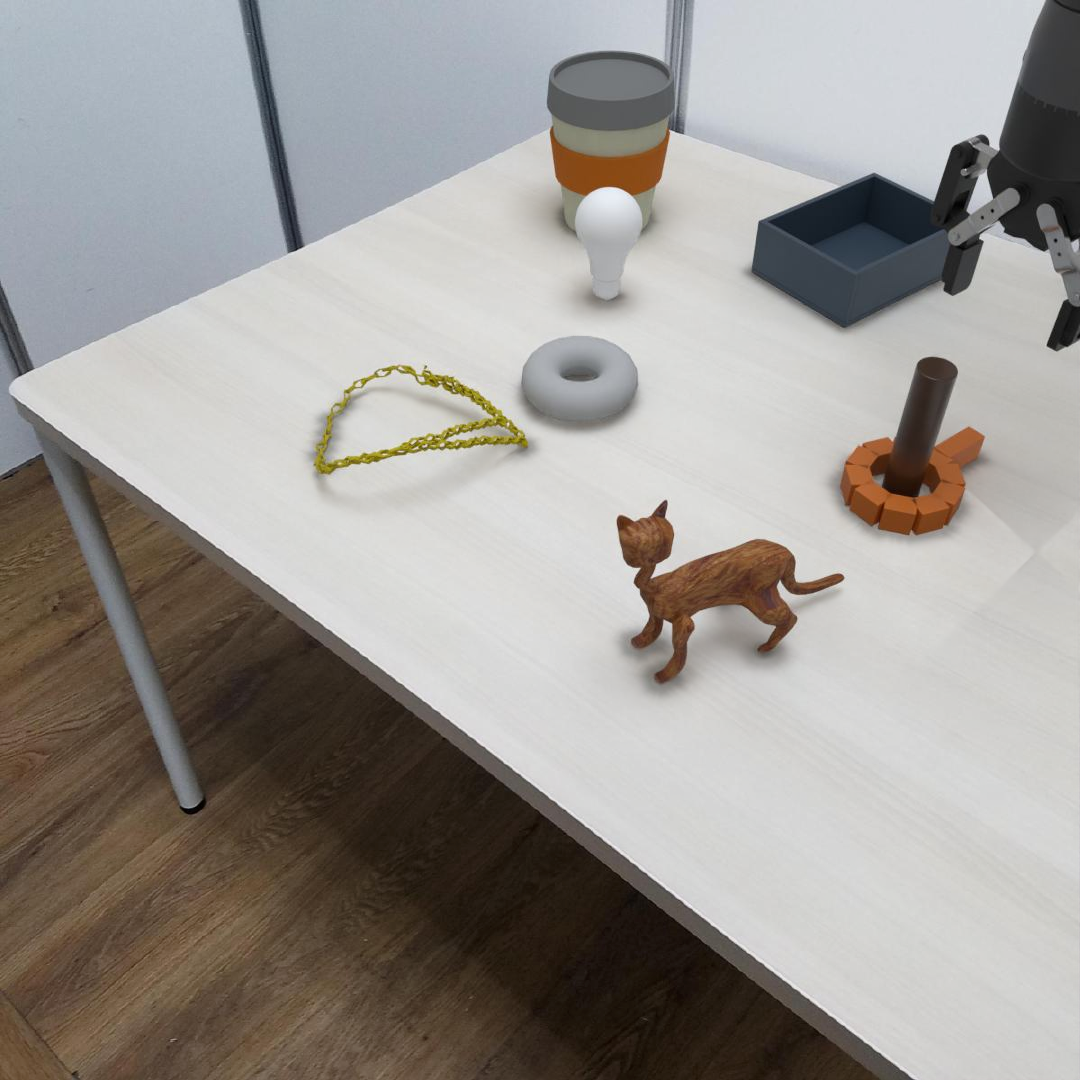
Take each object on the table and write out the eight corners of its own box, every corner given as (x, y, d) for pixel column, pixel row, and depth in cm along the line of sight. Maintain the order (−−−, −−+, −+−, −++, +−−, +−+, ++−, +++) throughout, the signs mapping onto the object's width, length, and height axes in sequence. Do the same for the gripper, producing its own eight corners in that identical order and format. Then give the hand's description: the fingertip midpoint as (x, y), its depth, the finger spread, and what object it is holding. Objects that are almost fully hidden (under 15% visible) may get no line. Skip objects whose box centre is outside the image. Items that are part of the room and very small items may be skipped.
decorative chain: (532, 445, 87) (531, 396, 84) (398, 530, 79) (392, 478, 76) (396, 381, 96) (391, 334, 93) (262, 451, 87) (252, 402, 84)
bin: (863, 221, 112) (874, 172, 108) (957, 271, 105) (973, 219, 101) (751, 271, 105) (758, 220, 102) (843, 327, 98) (855, 275, 95)
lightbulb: (561, 303, 102) (561, 195, 94) (596, 274, 105) (599, 168, 98) (616, 323, 99) (620, 214, 92) (649, 293, 103) (656, 186, 95)
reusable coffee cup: (523, 217, 114) (519, 74, 103) (606, 178, 120) (610, 39, 109) (607, 261, 107) (612, 114, 96) (690, 218, 113) (704, 74, 102)
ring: (906, 552, 78) (913, 530, 77) (817, 486, 83) (822, 465, 82) (1016, 481, 83) (1024, 460, 82) (926, 424, 88) (932, 403, 87)
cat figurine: (814, 557, 78) (850, 409, 68) (869, 620, 74) (916, 470, 64) (593, 639, 73) (597, 490, 63) (638, 710, 68) (651, 563, 59)
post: (907, 480, 84) (946, 353, 75) (923, 504, 82) (965, 377, 73) (873, 486, 83) (909, 359, 75) (889, 510, 81) (927, 382, 73)
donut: (644, 367, 95) (534, 353, 96) (647, 335, 92) (534, 321, 94) (628, 438, 88) (509, 422, 89) (630, 405, 85) (509, 389, 87)
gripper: (1239, 104, 60) (1130, 345, 71) (1023, 30, 68) (957, 257, 79) (1162, 141, 57) (1061, 387, 68) (946, 58, 65) (889, 290, 76)
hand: (1005, 317), depth 74 cm, fingers open, 8 cm apart
